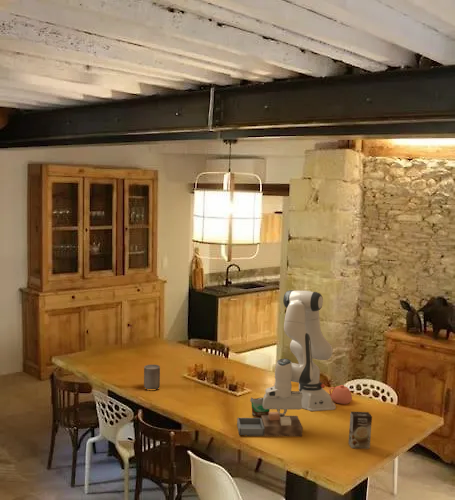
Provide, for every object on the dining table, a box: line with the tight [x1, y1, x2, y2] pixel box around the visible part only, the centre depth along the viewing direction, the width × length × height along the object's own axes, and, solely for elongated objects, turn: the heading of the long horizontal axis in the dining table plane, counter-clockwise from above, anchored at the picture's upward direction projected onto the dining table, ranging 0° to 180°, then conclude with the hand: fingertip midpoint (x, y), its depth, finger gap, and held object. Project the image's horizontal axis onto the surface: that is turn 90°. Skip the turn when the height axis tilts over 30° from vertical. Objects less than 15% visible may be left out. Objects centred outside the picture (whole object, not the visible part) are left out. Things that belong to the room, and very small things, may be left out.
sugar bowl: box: [328, 384, 353, 405], centre depth 351 cm, size 12×14×10 cm
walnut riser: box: [261, 415, 303, 437], centre depth 304 cm, size 19×15×5 cm
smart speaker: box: [143, 364, 161, 390], centre depth 364 cm, size 10×10×15 cm
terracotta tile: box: [268, 411, 280, 420], centre depth 307 cm, size 5×5×2 cm
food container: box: [249, 396, 271, 418], centre depth 323 cm, size 12×6×10 cm, turn 105°
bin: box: [236, 417, 265, 437], centre depth 304 cm, size 12×15×4 cm
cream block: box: [280, 417, 291, 425], centre depth 301 cm, size 5×5×2 cm
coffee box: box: [348, 411, 373, 449], centre depth 288 cm, size 9×6×16 cm
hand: (281, 417), depth 307 cm, fingers closed
